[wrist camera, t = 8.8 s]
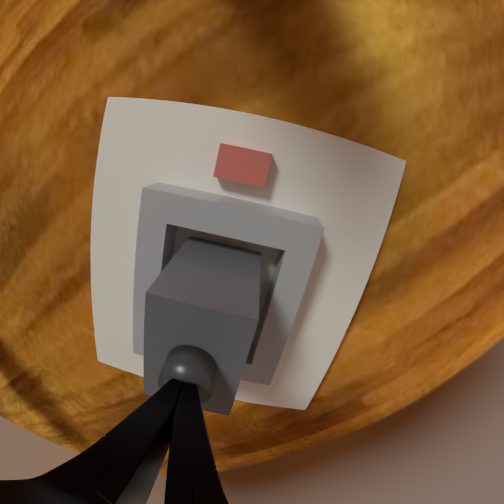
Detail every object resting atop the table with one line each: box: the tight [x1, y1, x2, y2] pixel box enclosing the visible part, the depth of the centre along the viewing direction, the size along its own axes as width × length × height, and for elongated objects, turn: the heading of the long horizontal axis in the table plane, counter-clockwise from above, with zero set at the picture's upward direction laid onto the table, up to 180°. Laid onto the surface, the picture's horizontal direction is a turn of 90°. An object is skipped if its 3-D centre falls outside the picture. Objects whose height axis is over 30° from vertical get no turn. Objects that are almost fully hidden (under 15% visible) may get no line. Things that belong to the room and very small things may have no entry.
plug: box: [144, 236, 261, 415], centre depth 12 cm, size 5×4×8 cm
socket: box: [91, 97, 406, 410], centre depth 15 cm, size 18×16×3 cm
